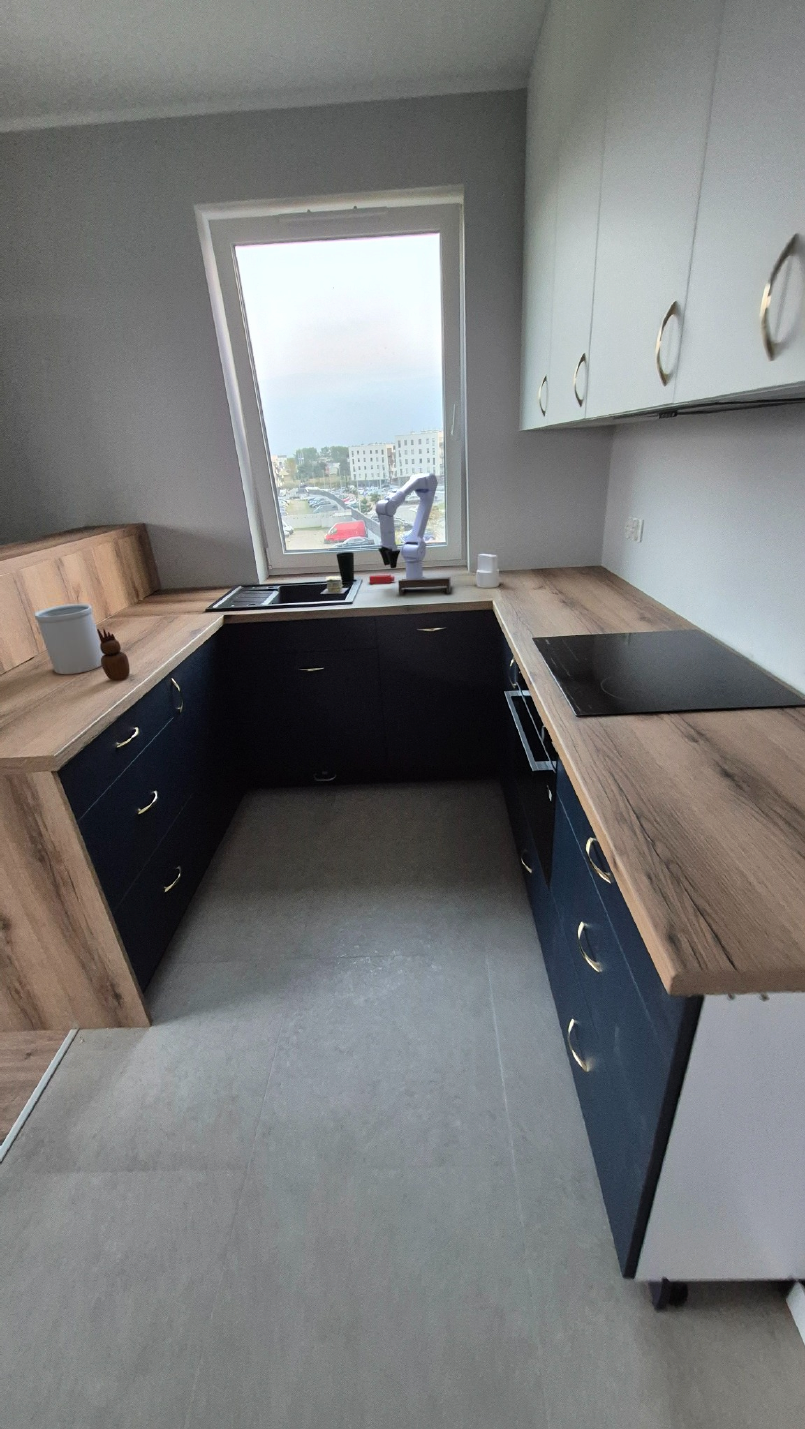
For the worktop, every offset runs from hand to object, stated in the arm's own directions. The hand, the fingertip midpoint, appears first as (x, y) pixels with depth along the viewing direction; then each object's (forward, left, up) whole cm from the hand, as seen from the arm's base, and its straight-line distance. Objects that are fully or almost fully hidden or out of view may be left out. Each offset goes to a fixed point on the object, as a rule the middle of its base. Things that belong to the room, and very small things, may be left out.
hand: (390, 566), depth 236 cm
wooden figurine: (+96, -65, -9) cm, 117 cm away
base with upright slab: (+1, +40, -9) cm, 41 cm away
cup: (-19, -22, -9) cm, 30 cm away
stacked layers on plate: (0, -24, -9) cm, 26 cm away
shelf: (+7, +15, -9) cm, 19 cm away
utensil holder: (+85, -84, -9) cm, 120 cm away
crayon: (-12, -6, -9) cm, 16 cm away
